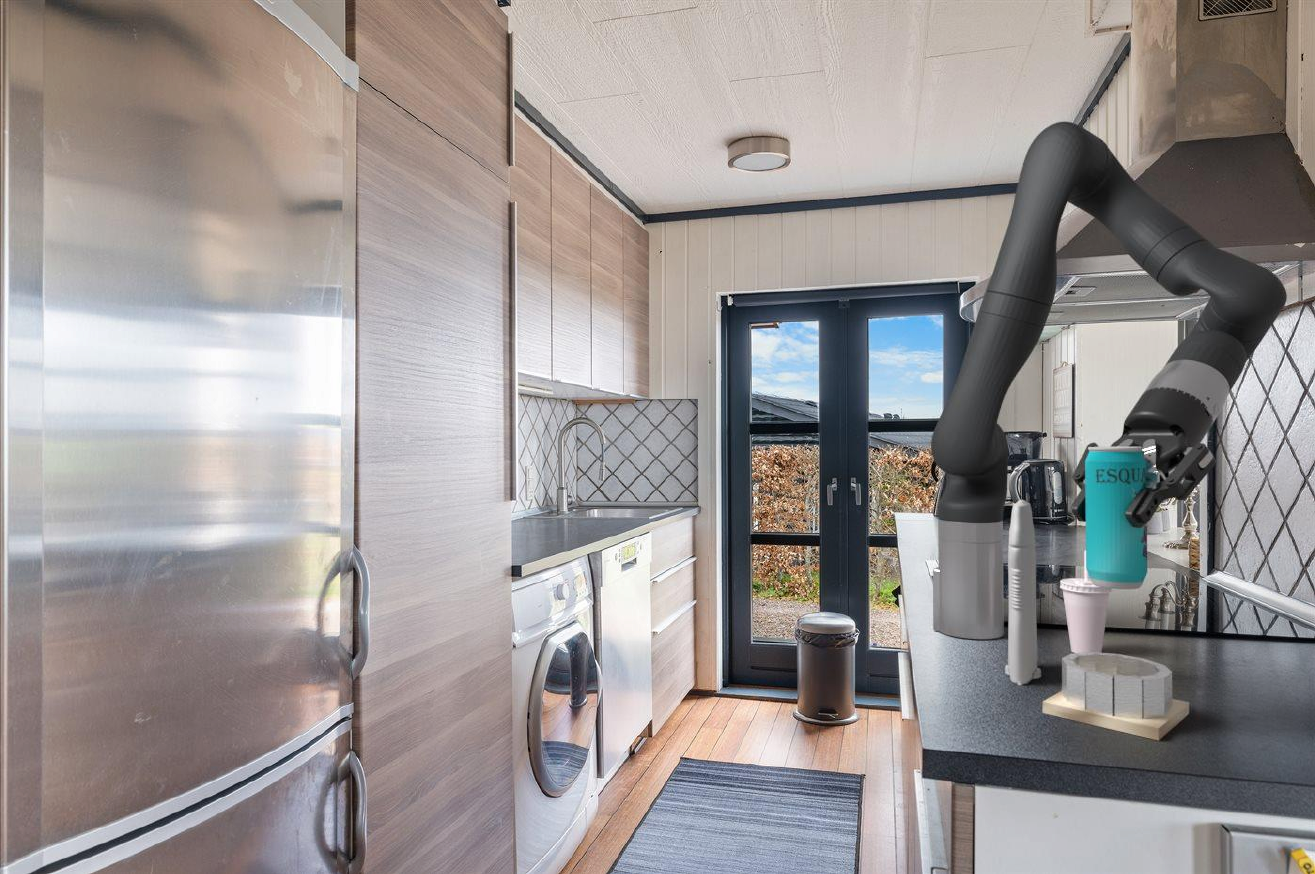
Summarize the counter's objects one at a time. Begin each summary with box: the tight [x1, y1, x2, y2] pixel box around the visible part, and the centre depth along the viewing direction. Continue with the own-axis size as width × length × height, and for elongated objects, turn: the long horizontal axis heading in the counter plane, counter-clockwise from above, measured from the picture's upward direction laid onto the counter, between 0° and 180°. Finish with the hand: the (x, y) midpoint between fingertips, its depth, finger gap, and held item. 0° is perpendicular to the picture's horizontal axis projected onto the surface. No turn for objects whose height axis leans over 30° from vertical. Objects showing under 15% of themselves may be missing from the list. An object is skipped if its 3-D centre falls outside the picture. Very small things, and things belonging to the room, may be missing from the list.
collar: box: [1061, 652, 1173, 719], centre depth 86 cm, size 10×10×4 cm
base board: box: [1042, 690, 1190, 741], centre depth 86 cm, size 11×11×1 cm
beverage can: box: [1085, 446, 1148, 590], centre depth 86 cm, size 6×6×15 cm
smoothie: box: [1059, 549, 1113, 654], centre depth 110 cm, size 6×6×14 cm
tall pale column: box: [1004, 499, 1042, 686], centre depth 100 cm, size 11×4×22 cm, turn 149°
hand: (1104, 519), depth 85 cm, fingers closed on beverage can, 5 cm apart
